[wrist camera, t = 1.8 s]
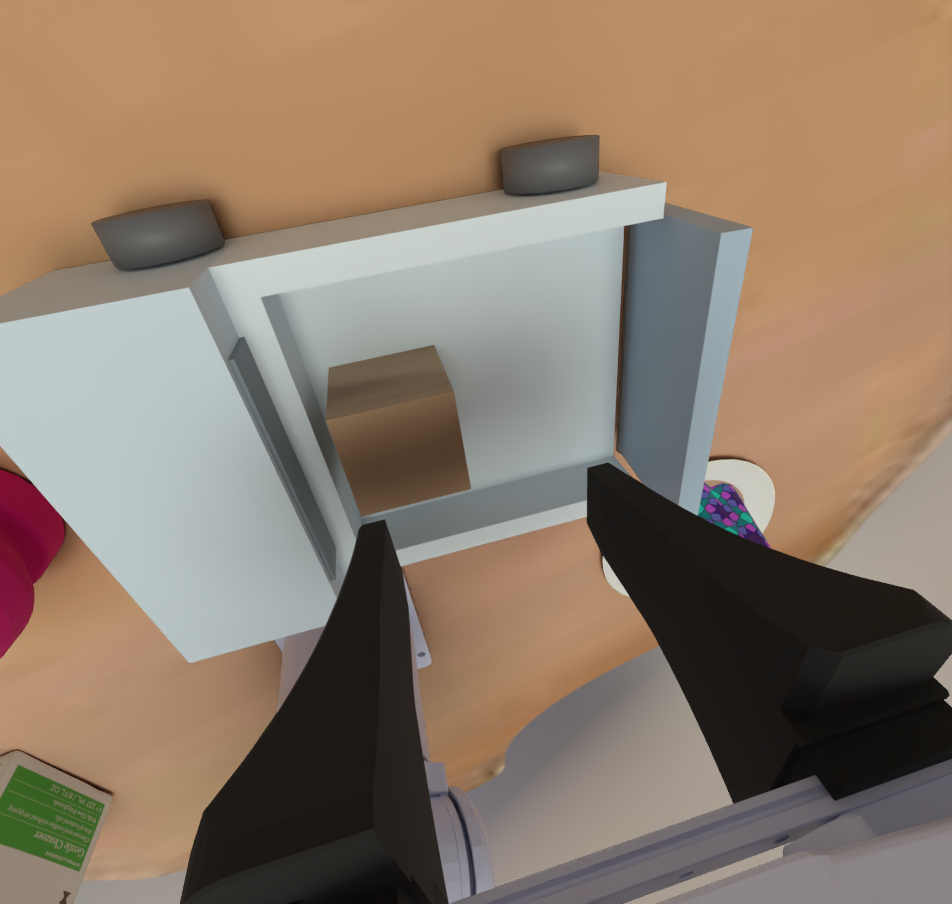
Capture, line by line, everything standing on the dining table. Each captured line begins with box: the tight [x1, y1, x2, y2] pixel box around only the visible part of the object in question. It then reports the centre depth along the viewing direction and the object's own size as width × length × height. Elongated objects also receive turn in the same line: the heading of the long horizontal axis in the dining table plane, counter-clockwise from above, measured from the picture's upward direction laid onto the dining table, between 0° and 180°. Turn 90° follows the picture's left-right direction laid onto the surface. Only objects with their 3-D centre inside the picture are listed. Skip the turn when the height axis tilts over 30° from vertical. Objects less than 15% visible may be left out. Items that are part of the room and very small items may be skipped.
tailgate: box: [616, 203, 753, 516], centre depth 18 cm, size 11×6×1 cm
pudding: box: [603, 459, 775, 597], centre depth 29 cm, size 12×12×5 cm
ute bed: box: [0, 135, 667, 663], centre depth 18 cm, size 16×19×6 cm
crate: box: [326, 345, 471, 517], centre depth 17 cm, size 4×4×4 cm
